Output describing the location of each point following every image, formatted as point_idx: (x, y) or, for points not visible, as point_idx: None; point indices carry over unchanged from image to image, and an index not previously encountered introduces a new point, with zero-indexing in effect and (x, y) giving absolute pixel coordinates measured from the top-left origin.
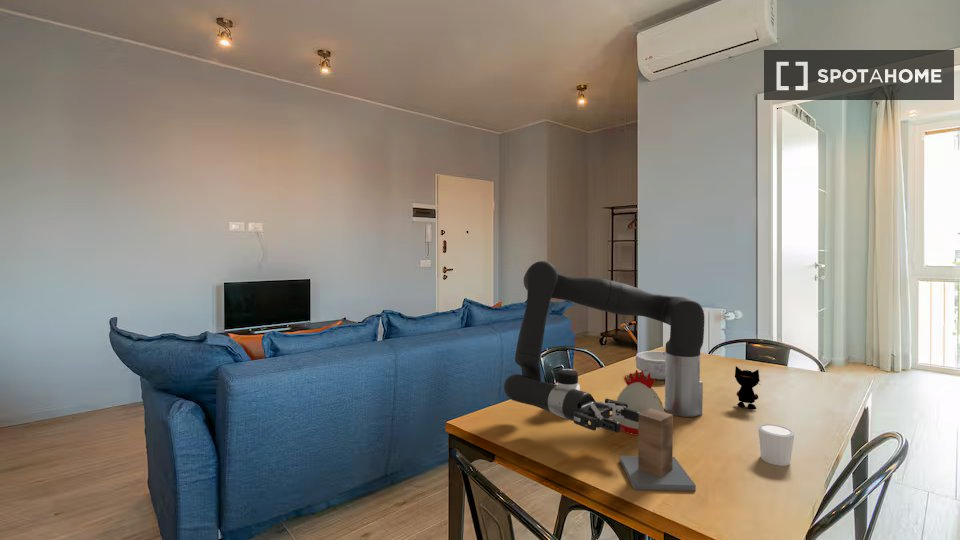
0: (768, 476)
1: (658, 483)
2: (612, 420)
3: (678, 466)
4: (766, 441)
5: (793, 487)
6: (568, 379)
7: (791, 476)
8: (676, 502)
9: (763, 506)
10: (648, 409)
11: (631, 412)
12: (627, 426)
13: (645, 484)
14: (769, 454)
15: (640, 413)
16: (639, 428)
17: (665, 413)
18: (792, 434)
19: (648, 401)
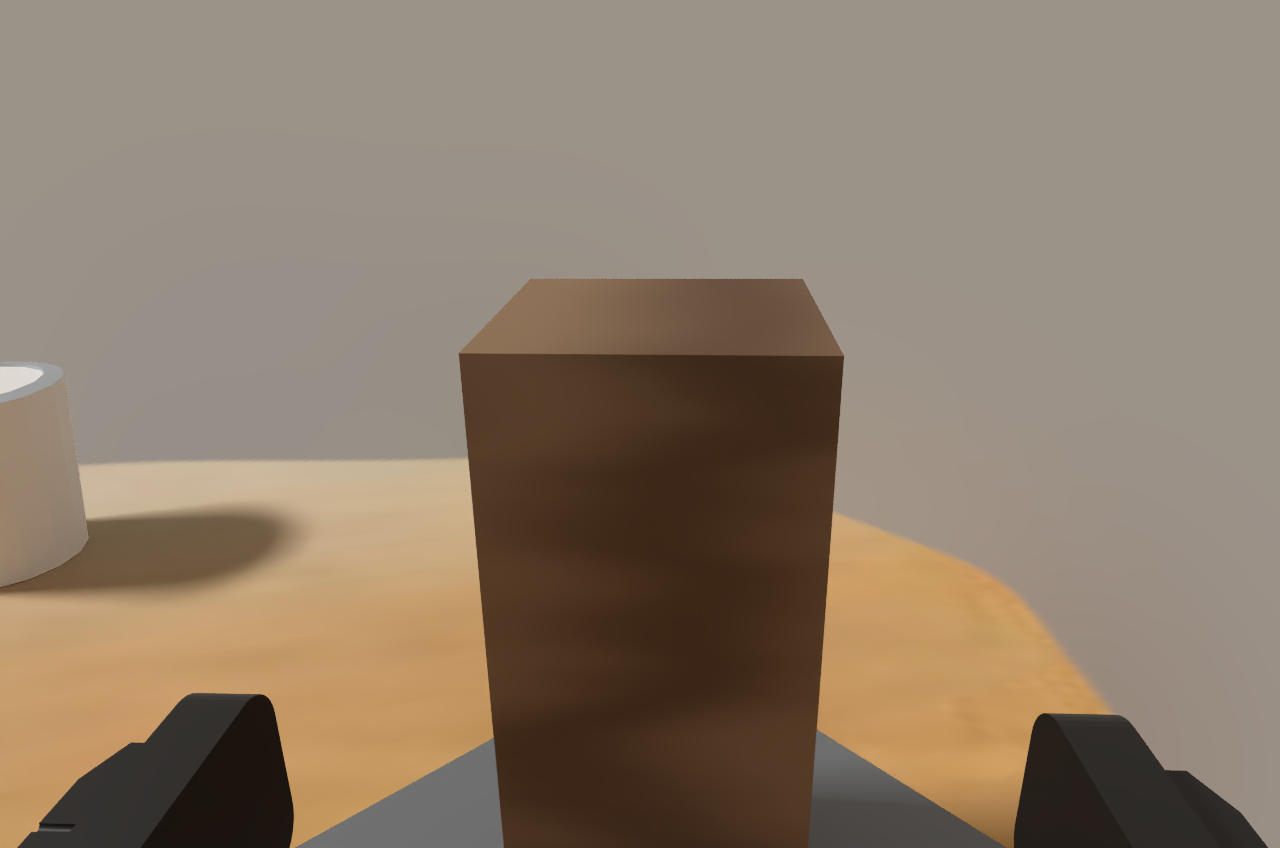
0: (254, 542)
1: (869, 773)
2: (1143, 837)
3: (464, 775)
4: (30, 449)
5: (329, 491)
6: None
7: (211, 505)
8: (897, 695)
9: None
10: (531, 355)
11: (178, 842)
12: None
13: (979, 835)
14: (58, 512)
15: (796, 352)
16: (826, 557)
17: (546, 293)
18: (20, 362)
19: None
